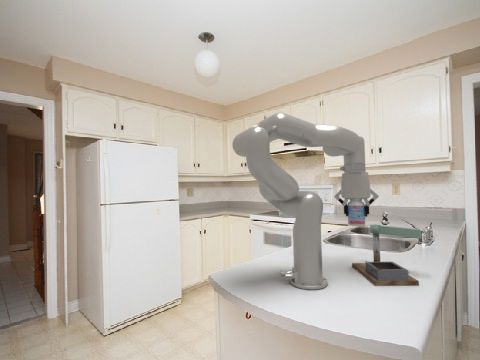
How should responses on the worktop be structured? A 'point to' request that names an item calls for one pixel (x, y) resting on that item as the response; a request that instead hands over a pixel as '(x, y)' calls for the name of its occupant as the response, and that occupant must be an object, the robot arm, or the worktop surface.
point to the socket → (386, 271)
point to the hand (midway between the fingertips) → (356, 215)
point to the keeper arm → (395, 231)
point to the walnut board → (362, 270)
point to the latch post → (376, 247)
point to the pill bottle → (356, 212)
